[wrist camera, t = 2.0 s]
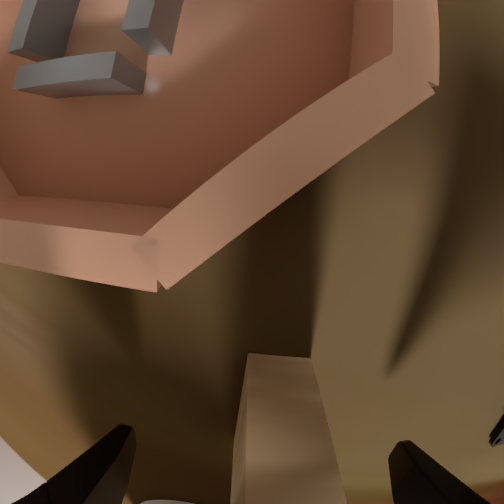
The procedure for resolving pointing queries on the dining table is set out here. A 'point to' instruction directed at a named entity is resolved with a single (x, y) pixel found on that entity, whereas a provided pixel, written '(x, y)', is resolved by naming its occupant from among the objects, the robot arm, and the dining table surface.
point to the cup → (164, 502)
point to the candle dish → (186, 120)
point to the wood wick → (283, 437)
